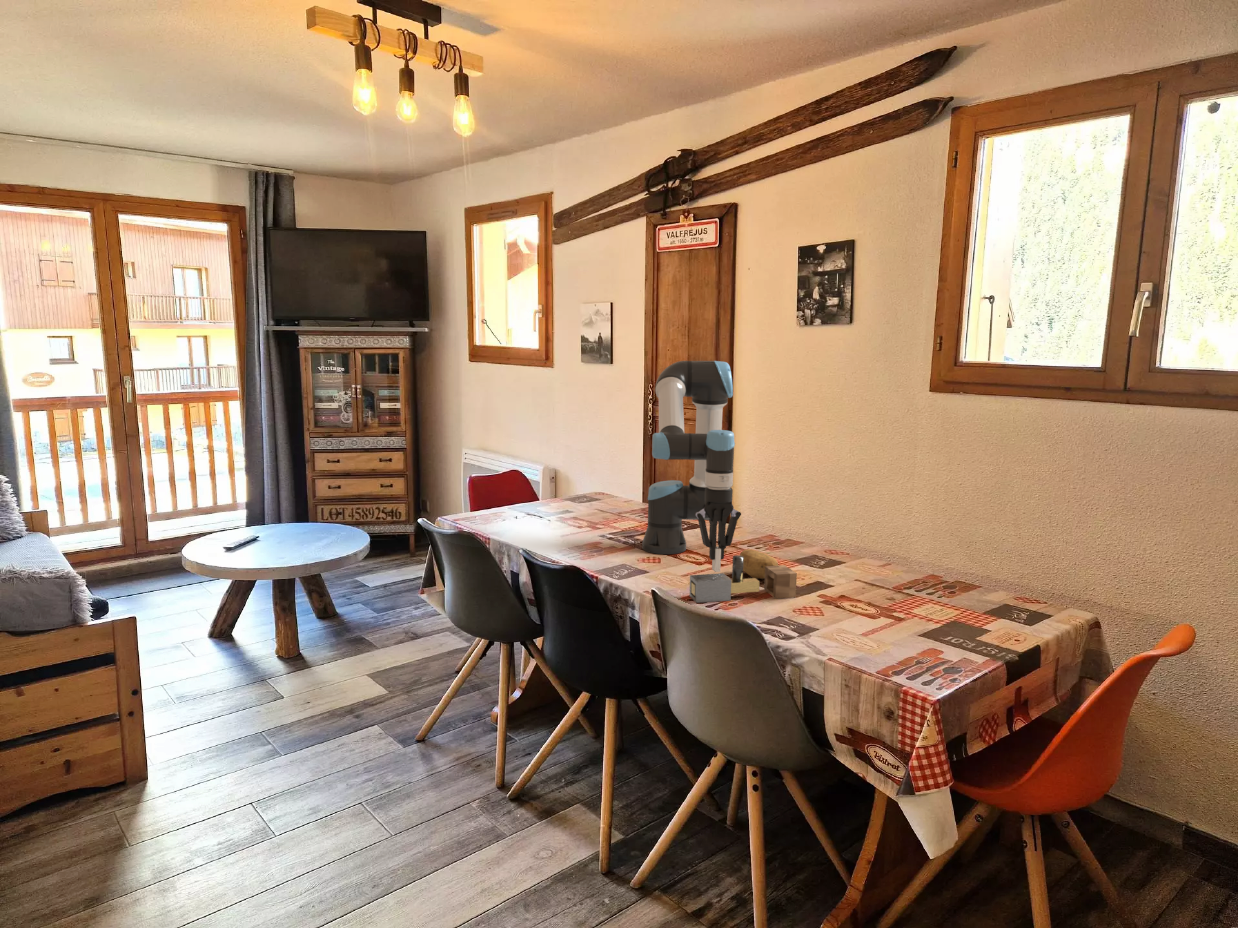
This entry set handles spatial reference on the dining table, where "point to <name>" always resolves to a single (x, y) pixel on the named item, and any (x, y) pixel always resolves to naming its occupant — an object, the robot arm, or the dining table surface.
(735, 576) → the sliding bolt
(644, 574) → the dining table surface
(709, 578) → the sleeve
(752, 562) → the potato
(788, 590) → the socket
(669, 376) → the robot arm
